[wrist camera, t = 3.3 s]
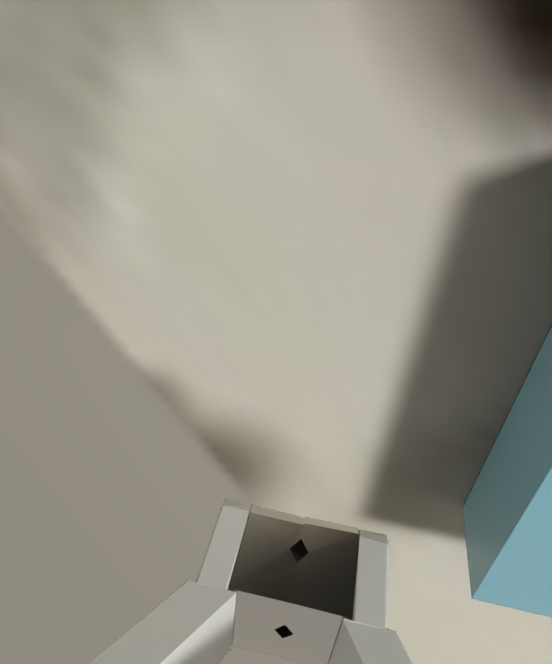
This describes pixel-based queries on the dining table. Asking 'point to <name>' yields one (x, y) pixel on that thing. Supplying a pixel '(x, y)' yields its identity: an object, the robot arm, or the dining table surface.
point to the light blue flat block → (516, 503)
